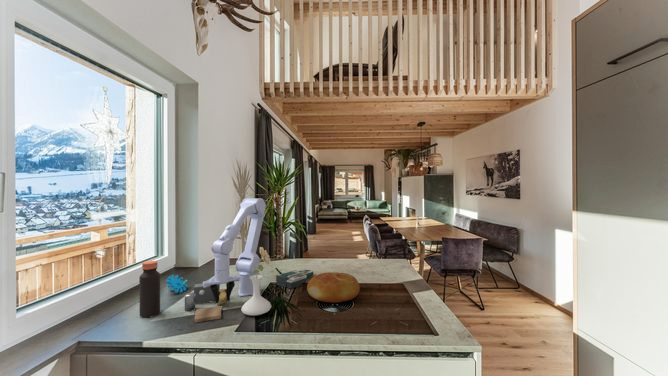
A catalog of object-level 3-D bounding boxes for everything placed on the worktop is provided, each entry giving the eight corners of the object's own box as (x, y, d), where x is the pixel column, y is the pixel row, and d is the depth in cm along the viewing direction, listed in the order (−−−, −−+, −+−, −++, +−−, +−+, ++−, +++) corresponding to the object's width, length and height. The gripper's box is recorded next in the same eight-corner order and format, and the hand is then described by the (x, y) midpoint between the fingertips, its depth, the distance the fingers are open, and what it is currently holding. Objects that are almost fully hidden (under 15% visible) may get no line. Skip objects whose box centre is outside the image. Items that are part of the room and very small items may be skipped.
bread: (325, 284, 145) (324, 264, 145) (367, 292, 133) (367, 270, 133) (297, 299, 125) (297, 276, 125) (344, 310, 113) (344, 285, 113)
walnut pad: (221, 308, 114) (221, 306, 114) (221, 318, 106) (221, 315, 106) (196, 312, 111) (196, 309, 111) (194, 322, 103) (194, 319, 103)
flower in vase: (260, 320, 104) (260, 252, 104) (234, 315, 108) (234, 250, 108) (279, 306, 117) (278, 245, 117) (255, 302, 121) (255, 243, 121)
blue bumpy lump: (173, 293, 127) (164, 275, 131) (165, 301, 128) (156, 283, 132) (193, 288, 138) (184, 272, 141) (185, 296, 138) (176, 279, 142)
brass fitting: (227, 302, 121) (227, 288, 121) (227, 305, 118) (227, 291, 118) (217, 303, 120) (217, 289, 120) (217, 307, 116) (217, 292, 116)
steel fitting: (196, 306, 117) (196, 291, 117) (195, 310, 113) (195, 295, 113) (185, 308, 115) (185, 293, 115) (184, 312, 112) (184, 296, 112)
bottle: (155, 317, 107) (155, 264, 107) (135, 318, 106) (135, 265, 106) (163, 309, 114) (163, 259, 114) (144, 310, 113) (144, 260, 113)
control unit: (219, 296, 127) (219, 281, 127) (219, 301, 123) (219, 284, 123) (194, 300, 123) (194, 284, 123) (193, 304, 119) (193, 287, 119)
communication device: (320, 277, 157) (320, 261, 157) (291, 290, 136) (292, 271, 136) (303, 273, 163) (303, 258, 163) (273, 285, 143) (273, 268, 143)
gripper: (237, 263, 126) (237, 294, 126) (201, 269, 118) (201, 301, 118) (241, 267, 120) (241, 299, 120) (204, 273, 112) (204, 307, 112)
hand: (222, 301), depth 119 cm, fingers closed on brass fitting, 4 cm apart
